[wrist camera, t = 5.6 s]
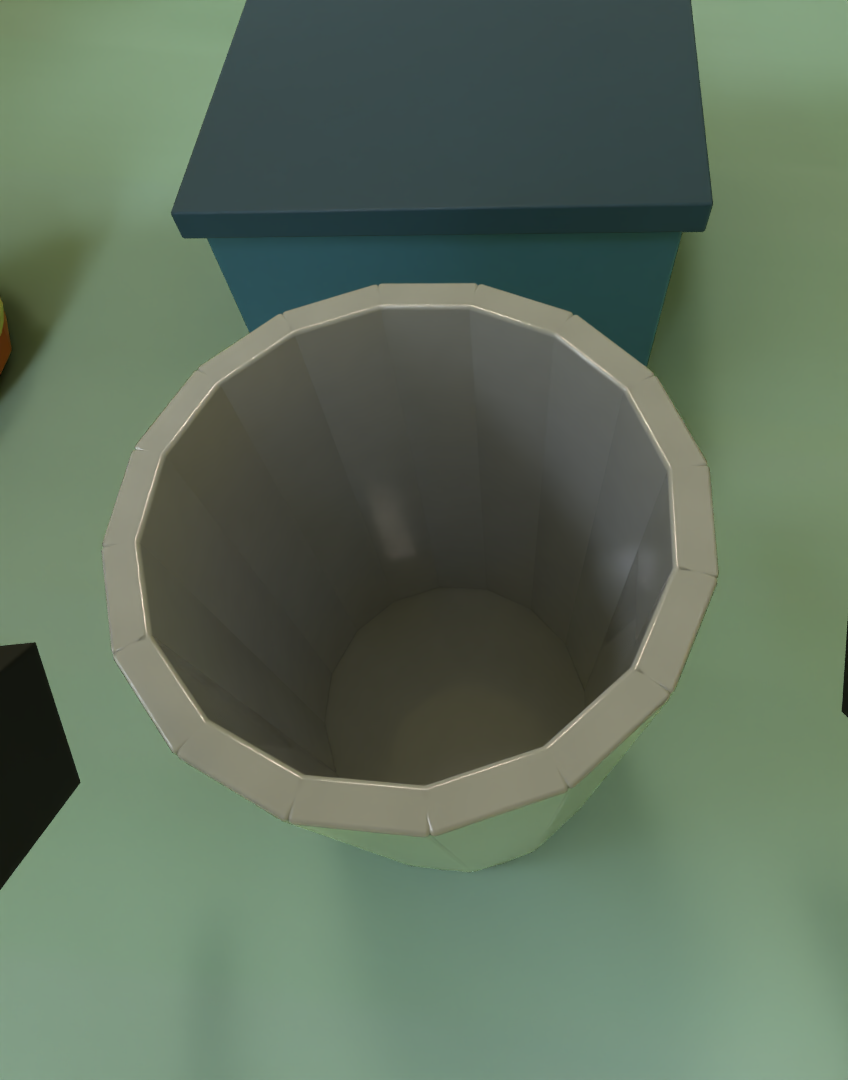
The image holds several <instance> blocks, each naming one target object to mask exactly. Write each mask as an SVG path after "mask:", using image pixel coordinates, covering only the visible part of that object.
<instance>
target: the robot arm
mask: <svg viewBox="0 0 848 1080" xmlns="http://www.w3.org/2000/svg"><path fill="white" fill-rule="evenodd" d="M842 712H843V713H844V714H845V715H846V716H847V717H848V623H847V638H846V654H845V669H844V685H843V701H842ZM79 784H80V779H79V776H78V773H77V770H76V767H75V764H74V761H73V758H72V754H71V751H70V748H69V745H68V742H67V739H66V736H65V733H64V730H63V726H62V723H61V720H60V717H59V714H58V711H57V708H56V705H55V702H54V698H53V695H52V692H51V689H50V686H49V683H48V680H47V677H46V674H45V670H44V667H43V664H42V661H41V658H40V655H39V652H38V649H37V646H36V643H35V642H34V643H24V644H15V645H5V646H0V890H1V888H2V887H3V885H4V884H5V883H6V881H7V880H8V879H9V877H10V876H11V875H12V873H13V872H14V871H15V869H16V868H17V867H18V865H19V864H20V863H21V861H22V860H23V859H24V857H25V856H26V855H27V853H28V852H29V851H30V849H31V848H32V847H33V845H34V844H35V843H36V841H37V840H38V839H39V837H40V836H41V835H42V833H43V832H44V831H45V829H46V828H47V827H48V825H49V824H50V823H51V821H52V820H53V819H54V817H55V816H56V815H57V813H58V812H59V810H60V809H61V808H62V806H63V805H64V804H65V802H66V801H67V800H68V798H69V797H70V796H71V794H72V793H73V792H74V790H75V789H76V788H77V786H78V785H79Z"/></svg>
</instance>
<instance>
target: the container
mask: <svg viewBox="0 0 848 1080" xmlns="http://www.w3.org/2000/svg"><path fill="white" fill-rule="evenodd" d="M712 206H713V200H712V191H711V181H710V172H709V163H708V154H707V144H706V135H705V126H704V117H703V107H702V98H701V89H700V80H699V70H698V61H697V52H696V43H695V34H694V24H693V15H692V6H691V0H247V1H246V3H245V6H244V9H243V12H242V15H241V18H240V20H239V23H238V26H237V29H236V32H235V34H234V37H233V40H232V43H231V46H230V48H229V51H228V54H227V57H226V60H225V62H224V65H223V68H222V71H221V74H220V76H219V79H218V82H217V85H216V88H215V90H214V93H213V96H212V99H211V102H210V105H209V107H208V110H207V113H206V116H205V119H204V121H203V124H202V127H201V130H200V133H199V135H198V138H197V141H196V144H195V147H194V149H193V152H192V155H191V158H190V161H189V163H188V166H187V169H186V172H185V175H184V177H183V180H182V183H181V186H180V189H179V192H178V194H177V197H176V200H175V203H174V206H173V208H172V211H171V215H172V217H173V219H174V221H175V223H176V225H177V227H178V229H179V231H180V233H181V235H182V237H183V238H207V240H208V242H209V244H210V246H211V248H212V251H213V253H214V255H215V257H216V259H217V262H218V264H219V266H220V268H221V271H222V273H223V275H224V277H225V279H226V282H227V284H228V286H229V288H230V290H231V293H232V295H233V297H234V299H235V301H236V304H237V306H238V308H239V310H240V313H241V315H242V317H243V319H244V321H245V324H246V326H247V328H248V330H249V332H252V331H253V330H255V329H256V328H258V327H260V326H261V325H263V324H264V323H266V322H267V321H269V320H270V319H272V318H273V317H275V316H276V315H278V314H282V315H283V312H285V311H288V310H291V309H294V308H298V307H301V306H304V305H308V304H311V303H314V302H318V301H321V300H324V299H328V298H331V297H334V296H338V295H341V294H344V293H348V292H351V291H354V290H358V289H361V288H364V287H368V286H371V285H377V286H379V284H381V283H476V284H477V285H479V284H483V285H487V286H490V287H493V288H496V289H499V290H503V291H506V292H509V293H512V294H515V295H519V296H522V297H525V298H528V299H531V300H535V301H538V302H541V303H544V304H547V305H551V306H554V307H557V308H560V309H564V310H567V311H570V312H572V313H573V315H578V316H579V317H581V318H582V319H583V320H585V321H586V322H587V323H589V324H590V325H591V326H593V327H594V328H595V329H597V330H598V331H599V332H601V333H602V334H603V335H605V336H606V337H607V338H609V339H610V340H611V341H613V342H614V343H615V344H617V345H618V346H619V347H621V348H622V349H623V350H625V351H626V352H627V353H629V354H630V355H631V356H632V357H634V358H635V359H636V360H638V361H639V362H640V363H642V364H643V365H644V366H646V367H647V364H648V360H649V356H650V353H651V349H652V345H653V341H654V337H655V334H656V330H657V326H658V322H659V319H660V315H661V311H662V307H663V303H664V300H665V296H666V292H667V288H668V285H669V281H670V277H671V273H672V269H673V266H674V262H675V258H676V254H677V251H678V247H679V243H680V239H681V235H682V232H703V231H705V229H706V226H707V222H708V219H709V216H710V212H711V209H712Z"/></svg>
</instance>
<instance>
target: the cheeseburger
mask: <svg viewBox="0 0 848 1080" xmlns="http://www.w3.org/2000/svg"><path fill="white" fill-rule="evenodd" d="M11 351H12V348H11V342H10V336H9V330H8V324H7V318H6V314H5V312H4V309H3V302H2V300H1V297H0V374H1V372H2V370H3V368H4V366H5V364H6V361H7V359H8V357H9V355H10V353H11Z"/></svg>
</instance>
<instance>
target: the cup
mask: <svg viewBox="0 0 848 1080" xmlns="http://www.w3.org/2000/svg"><path fill="white" fill-rule="evenodd" d="M102 546H103V549H102V551H101V552H102V562H103V572H104V582H105V591H106V601H107V611H108V621H109V630H110V640H111V650H112V653H113V658H114V661H115V662H116V664H117V666H118V667H119V669H120V670H121V672H122V674H123V675H124V677H125V678H126V680H127V681H128V683H129V685H130V686H131V688H132V689H133V691H134V693H135V694H136V696H137V697H138V699H139V701H140V702H141V704H142V705H143V707H144V709H145V710H146V712H147V713H148V715H149V716H150V718H151V720H152V721H153V723H154V724H155V726H156V728H157V729H158V731H159V732H160V734H161V736H162V737H163V739H164V740H165V742H166V744H167V745H168V747H169V748H170V750H171V751H172V753H174V754H176V755H177V756H178V757H179V759H180V760H182V761H184V762H185V763H187V764H189V765H190V766H192V767H193V768H195V769H197V770H198V771H200V772H202V773H203V774H205V775H207V776H208V777H210V778H212V779H213V780H215V781H217V782H218V783H220V784H222V785H223V786H225V787H227V788H228V789H230V790H232V791H233V792H235V793H237V794H238V795H240V796H242V797H243V798H245V799H247V800H248V801H250V802H251V803H253V804H255V805H256V806H258V807H260V808H261V809H263V810H265V811H266V812H268V813H270V814H271V815H273V816H275V817H276V818H278V819H280V820H281V821H283V822H286V823H289V824H292V825H295V826H298V827H300V828H303V829H306V830H309V831H312V832H315V833H318V834H320V835H323V836H326V837H329V838H332V839H335V840H338V841H340V842H343V843H346V844H349V845H352V846H355V847H357V848H360V849H363V850H366V851H369V852H372V853H375V854H377V855H380V856H383V857H386V858H389V859H392V860H394V861H397V862H400V863H403V864H406V865H409V866H414V867H423V868H432V869H438V870H450V871H461V872H472V871H473V872H476V871H479V870H482V869H485V868H488V867H492V866H496V865H499V864H503V863H506V862H508V861H511V860H513V859H515V858H518V857H520V856H523V855H526V854H529V853H532V852H533V851H535V850H537V849H538V848H539V847H540V846H541V845H542V844H543V843H544V842H545V841H546V840H547V839H549V838H550V837H551V836H552V835H553V834H554V833H555V832H557V831H558V829H559V828H560V827H561V826H562V825H563V824H564V823H566V822H567V821H568V820H569V819H570V818H571V817H572V816H573V815H574V814H575V813H576V812H577V811H578V810H579V809H580V808H581V807H582V806H583V804H584V803H585V802H586V801H587V800H588V798H589V797H590V796H591V795H592V793H593V792H594V791H595V790H596V789H597V787H598V786H599V785H600V784H601V782H602V781H603V780H604V779H605V777H606V776H607V775H608V774H609V773H610V771H611V770H612V769H613V768H614V766H615V765H616V764H617V763H618V762H619V760H620V759H621V758H622V757H623V755H624V754H625V753H626V752H627V751H628V749H629V748H630V747H631V746H632V744H633V743H634V742H635V741H636V740H637V738H638V737H639V736H640V735H641V733H642V732H643V731H644V730H645V728H646V727H647V726H648V725H649V724H650V722H651V721H652V720H653V719H654V717H655V716H656V715H657V714H658V713H659V711H660V710H661V709H662V708H663V706H664V705H665V704H666V703H667V702H668V700H669V698H670V696H671V695H672V694H673V693H674V691H675V689H676V687H677V684H678V682H679V679H680V677H681V674H682V672H683V669H684V667H685V664H686V662H687V659H688V656H689V654H690V651H691V649H692V646H693V644H694V641H695V639H696V636H697V634H698V631H699V629H700V626H701V623H702V621H703V618H704V616H705V613H706V611H707V608H708V606H709V603H710V601H711V598H712V596H713V593H714V590H715V588H716V585H717V577H718V575H719V570H718V558H717V547H716V535H715V523H714V512H713V500H712V489H711V477H710V469H709V467H708V466H707V461H706V459H705V457H704V456H703V454H702V452H701V451H700V449H699V447H698V446H697V444H696V442H695V440H694V439H693V437H692V435H691V434H690V432H689V430H688V428H687V427H686V425H685V423H684V422H683V420H682V418H681V416H680V415H679V413H678V411H677V410H676V408H675V406H674V404H673V403H672V401H671V399H670V398H669V396H668V394H667V392H666V391H665V389H664V387H663V386H662V384H661V382H660V381H659V379H658V377H656V376H654V373H653V372H652V371H651V370H650V369H648V368H647V367H646V366H644V365H643V364H642V363H640V362H639V361H638V360H636V359H635V358H634V357H632V356H631V355H630V354H629V353H627V352H626V351H625V350H623V349H622V348H621V347H619V346H618V345H617V344H615V343H614V342H613V341H611V340H610V339H609V338H607V337H606V336H605V335H603V334H602V333H601V332H599V331H598V330H597V329H595V328H594V327H593V326H591V325H590V324H589V323H587V322H586V321H585V320H583V319H582V318H581V317H579V316H578V315H573V313H572V312H570V311H567V310H564V309H560V308H557V307H554V306H551V305H547V304H544V303H541V302H538V301H535V300H531V299H528V298H525V297H522V296H519V295H515V294H512V293H509V292H506V291H503V290H499V289H496V288H493V287H490V286H487V285H483V284H479V285H477V284H476V283H381V284H379V286H377V285H371V286H368V287H364V288H361V289H358V290H354V291H351V292H348V293H344V294H341V295H338V296H334V297H331V298H328V299H324V300H321V301H318V302H314V303H311V304H308V305H304V306H301V307H298V308H294V309H291V310H288V311H285V312H283V315H282V314H278V315H276V316H275V317H273V318H272V319H270V320H269V321H267V322H266V323H264V324H263V325H261V326H260V327H258V328H256V329H255V330H253V331H252V332H250V333H249V334H247V335H246V336H244V337H243V338H241V339H240V340H238V341H237V342H235V343H234V344H232V345H231V346H229V347H228V348H226V349H225V350H223V351H222V352H220V353H219V354H217V355H216V356H214V357H213V358H211V359H210V360H208V361H207V362H205V363H204V364H202V365H200V366H199V367H198V370H196V371H194V372H193V374H192V375H191V376H190V377H189V379H188V380H187V381H186V382H185V384H184V385H183V386H182V387H181V389H180V390H179V391H178V392H177V394H176V395H175V396H174V397H173V399H172V400H171V401H170V402H169V404H168V405H167V406H166V408H165V409H164V410H163V411H162V413H161V414H160V415H159V416H158V418H157V419H156V420H155V421H154V423H153V424H152V425H151V426H150V428H149V429H148V430H147V431H146V433H145V434H144V435H143V436H142V438H141V439H140V440H139V441H138V443H137V444H136V446H135V450H133V451H132V453H131V456H130V459H129V462H128V465H127V468H126V471H125V475H124V478H123V481H122V484H121V487H120V490H119V493H118V496H117V499H116V502H115V505H114V509H113V512H112V515H111V518H110V521H109V524H108V527H107V530H106V533H105V536H104V539H103V543H102Z"/></svg>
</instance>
